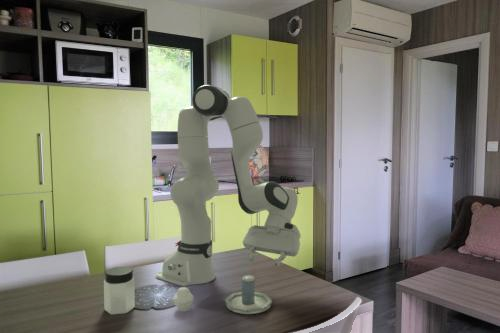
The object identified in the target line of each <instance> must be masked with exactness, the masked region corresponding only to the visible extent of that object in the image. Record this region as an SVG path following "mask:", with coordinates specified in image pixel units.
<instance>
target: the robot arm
mask: <svg viewBox="0 0 500 333" xmlns="http://www.w3.org/2000/svg"><path fill="white" fill-rule="evenodd" d="M191 100H192V105H191V106H186V107H184V108H183V109H182V108H181V110H180V111H179V112H178V120H177V148H178V159H179V161H180V162H181V164H182V165H183V167H184V170H185V174H186V176H183V177H180V178H179V179H178V180H176V181H175V182H174V183H172V186H170V198H171V201H172V202H173V203H174V204H175V205H176V207H177V210H178V215H179V218H180V229H181V230H180V232H181V233H180V236H181V237H180V238H181V239H180V240H179V241H178V242H176V243H174V244H175V245H174V247H177V249H176V251H173V253H172V254H170V255H169V256H168V257H166V258H165V259H164V260H163V263H162V269H161V270H159V271H158V272H157V273H156V275H155V278H156V279H158V280H159V279H160V280H161V281H166V282H169V283H172V284H175V285H179V286H182V287H188V286H190V285H200V284H206V283H209V282H212V281H213V280H215V279H216V277H217V276H216V274H215V270H214V264H213V263H214V262H213V256H212V255H213V240H212V220H211V218H210V217H209V214H208V211H207V207H206V202H209V201H210V200H212V199H213V198H214V197H215V196H216V195H217V193H218V191H219V187H220V185H219V181H218V179H217V178H216V176H215V174H214V170H213V167H212V163H211V157H210V149H209V148H210V146H209V132H208V125H209V122H211V121H215V120H217V119H219V118H224V119H225V121H226V123H227V126H228V128H229V132H230V135H231V136H230V137H231V140H232V149H231V154H230V155H231V161H232V168H233V172H234V177H235V183H236V187H237V194H238V195H237V201H238V204H239V207H240V208H241V210H242V211H244V213H245V214H248V215H254V214H257V213H259V212H260V213H261V212H262V211H267V212H268V215H267V217H266V220H265V223H264V225H253V226H249V228H248V229H247V233H246V234H245V236H244V237H243V240H242V244H243V247H244V248H245V249H246V250H249V258H248V260H249V261H250V262H255V260H256V258H257V257H256V256H255V253H256V252H257V251H258V252H262V253H268V254H269V253H270V254H275V255H280V256H278V258H274V262H273V264H274V266H277V267H280V266H281V263H282V262H283V261H284V260H285V259H286V258H287V257H292V258H293V257H296V256H297V255H298V254H299V250H300V246H301V242H300V239H301V236H302V235H301V233H300V230H299V228H298V226H297V225H296V224H293V223H292V219H293V218H294V216H295V214H296V211H297V207H298V201H299V199H298V193H297V192H296V191H295V190H294V189H292V188H290V187H289V186H281V185H280V184H279V183H278V182H276V181H274V180H273V181H271V180H270V181H266V182H263V183H259V184H256V185H254V184H253V180H252V174H251V173H252V172H251V169H250V159H251V157H252V156H253V154H254V153H255V152H256V151H257V150H258V149H259V147H260V146H261V144H262V142H263V139H264V132H263V128H262V124H261V123H260V120H259V117H258V115H257V112H256V110H255V109H254V106H253V105H252V103H251V101H250V100H249V98H248V97H246V96H235V97H233V98H231V97H230V95H229V94H228V93H227V92H226V91H225V90H223V89H222V88H221V87H218V86H214V85H212V84H203V85H201V86H199V87H197V89H196V90H195V91H194V92H193V95H192V99H191Z"/></svg>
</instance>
